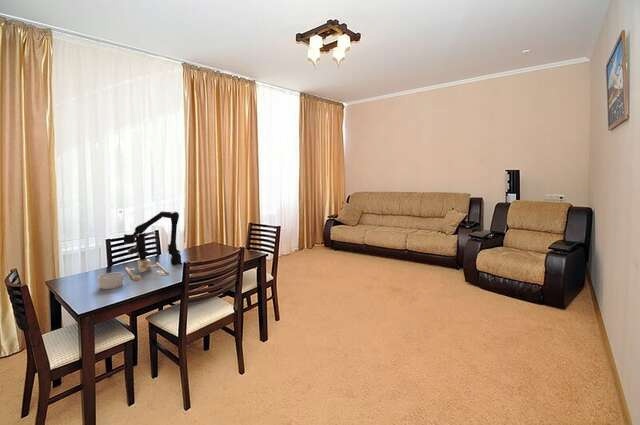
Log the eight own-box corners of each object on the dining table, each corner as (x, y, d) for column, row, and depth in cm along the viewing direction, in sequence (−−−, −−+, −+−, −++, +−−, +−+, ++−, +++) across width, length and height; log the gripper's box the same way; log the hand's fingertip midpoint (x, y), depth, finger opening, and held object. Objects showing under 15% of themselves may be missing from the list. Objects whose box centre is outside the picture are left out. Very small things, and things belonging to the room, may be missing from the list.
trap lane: (157, 264, 251) (157, 262, 251) (168, 274, 226) (168, 272, 226) (125, 269, 238) (125, 267, 238) (133, 281, 213) (133, 278, 213)
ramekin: (119, 281, 213) (118, 270, 212) (127, 285, 205) (126, 274, 204) (95, 287, 203) (94, 275, 202) (103, 291, 194) (102, 280, 194)
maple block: (149, 268, 241) (148, 258, 240) (151, 270, 236) (150, 260, 235) (138, 269, 237) (137, 260, 236) (140, 272, 232) (139, 262, 231)
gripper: (125, 242, 243) (127, 262, 245) (130, 246, 228) (132, 268, 230) (142, 240, 250) (144, 260, 252) (148, 244, 235) (149, 265, 237)
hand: (142, 263), depth 242 cm, fingers closed
